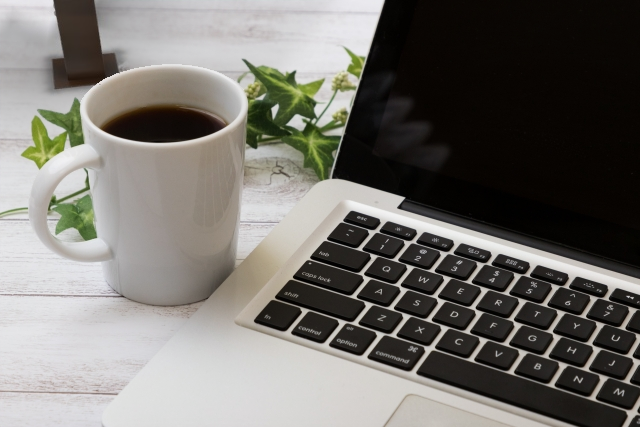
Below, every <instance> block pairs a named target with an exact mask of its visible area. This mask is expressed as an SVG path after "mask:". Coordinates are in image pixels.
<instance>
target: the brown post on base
mask: <svg viewBox="0 0 640 427" xmlns="http://www.w3.org/2000/svg"><path fill="white" fill-rule="evenodd" d="M52 3H54V7H55V9H54V11H55V13H56V16H55V18H56V22H57V28H58V33H59V40H60V44H61V51H62V55H63V57H59V58H51V66H52V67H51V68H52V78H53V89H54V90H60V89H70V88H71V89H72V88H79V87H89V86H97V85H96V84H97V83H99V82H100V81H102V80H103V79H105V78H107V77H110V76H112V75H114V74H116V73H119V74H120V70H119V65H118V61H117V56H116V53H115V52H107V53H103V49H102V43H101V42H102V41H101V36H100V28H99V23H98V16H97V10H96V2H95V0H52ZM54 7H53V8H54Z"/></svg>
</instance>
